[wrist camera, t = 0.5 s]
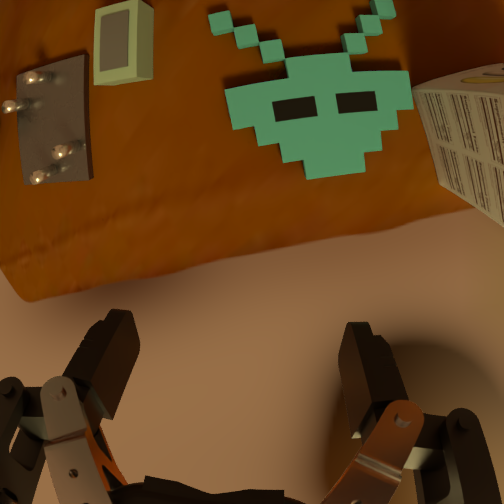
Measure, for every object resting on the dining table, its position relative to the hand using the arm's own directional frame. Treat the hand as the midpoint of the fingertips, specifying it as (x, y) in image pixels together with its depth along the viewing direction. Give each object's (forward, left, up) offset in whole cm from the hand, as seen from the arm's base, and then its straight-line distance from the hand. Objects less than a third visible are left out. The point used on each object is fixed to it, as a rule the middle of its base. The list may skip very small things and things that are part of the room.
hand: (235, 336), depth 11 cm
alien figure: (-10, +6, -27) cm, 29 cm away
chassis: (-7, -27, -26) cm, 38 cm away
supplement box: (-10, +27, -26) cm, 39 cm away
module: (-15, -15, -26) cm, 34 cm away
